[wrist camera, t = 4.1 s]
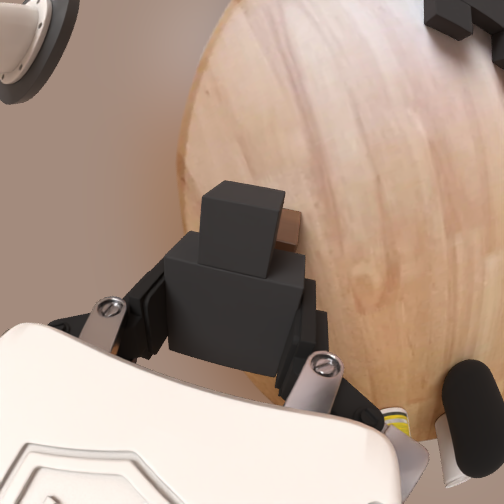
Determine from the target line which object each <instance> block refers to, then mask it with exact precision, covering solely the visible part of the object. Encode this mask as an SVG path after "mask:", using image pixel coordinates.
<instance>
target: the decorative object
mask: <svg viewBox="0 0 504 504" xmlns="http://www.w3.org/2000/svg"><path fill="white" fill-rule="evenodd" d="M442 402H443V405H444V409H445V413H446V417H447V421H448V425H449V429H450V434H451V438H452V443H453V448H454V454H455V459H456V463H457V466H458V468H459V469H460V471H461V472H462V473H463V474H465V475H466V476H468V477H471V478H482V477H485V476H488V475H490V474H492V473H493V472H495V471H496V470H497V469H498V468H499V467H500V466H501V465H502V464H503V463H504V401H503V399H502V396H501V394H500V391H499V389H498V387H497V384H496V382H495V380H494V377H493V375H492V373H491V371H490V369H489V368H488V367H487V366H486V365H485V364H484V363H482V362H480V361H478V360H465V361H462V362H460V363H458V364H457V365H456V366H454V367H453V368H452V369H451V370H450V372H449V373H448V375H447V376H446V378H445V381H444V384H443V388H442Z"/></svg>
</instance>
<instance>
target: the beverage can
mask: <svg viewBox="0 0 504 504" xmlns="http://www.w3.org/2000/svg"><path fill="white" fill-rule="evenodd" d="M435 429H436V434H437V439H438V445H439V451H440V456H441V464H442V471H443V479H444V484H445V485H446V486H445V487H446V488H448V487H453V486H455V485H458V484H460V483H463V482H465V481H466V480H468V479H470V478H471V477H468V476H466V475H465V474H463V473H462V472H461V471H460V469H459V468H458V466H457V463H456V459H455V454H454V448H453V443H452V438H451V434H450V429H449V425H448V421H447V417H446V413H444V414H443V415H442V416H440V417H439V418H438V419H437V421H436V423H435Z"/></svg>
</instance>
